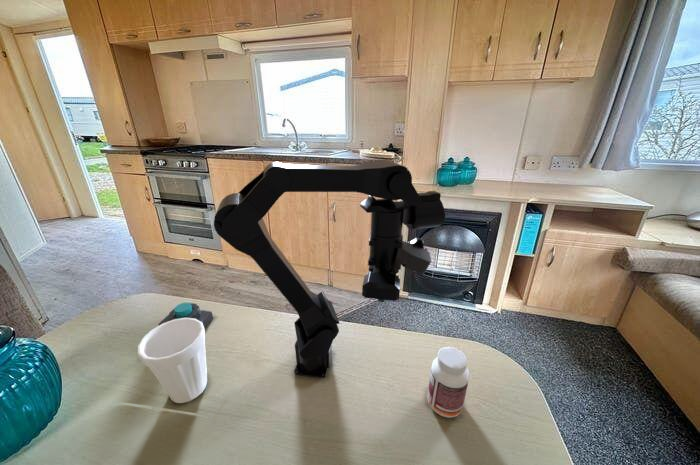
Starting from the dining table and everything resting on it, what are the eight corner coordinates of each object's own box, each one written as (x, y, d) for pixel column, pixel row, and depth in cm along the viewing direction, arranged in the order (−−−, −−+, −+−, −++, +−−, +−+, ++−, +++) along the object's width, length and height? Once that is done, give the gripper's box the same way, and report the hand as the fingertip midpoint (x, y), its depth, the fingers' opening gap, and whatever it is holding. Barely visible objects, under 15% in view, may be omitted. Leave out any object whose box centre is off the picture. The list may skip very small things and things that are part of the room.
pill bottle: (469, 407, 50) (481, 362, 45) (446, 426, 47) (456, 380, 42) (442, 381, 54) (449, 338, 50) (419, 397, 51) (425, 352, 47)
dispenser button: (172, 317, 66) (170, 311, 65) (182, 307, 69) (181, 301, 69) (186, 318, 66) (184, 312, 65) (195, 308, 69) (194, 303, 68)
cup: (229, 374, 56) (216, 324, 50) (187, 423, 47) (167, 368, 42) (190, 361, 59) (175, 312, 53) (145, 404, 50) (121, 351, 45)
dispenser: (159, 331, 66) (155, 318, 65) (178, 313, 72) (174, 301, 71) (198, 336, 65) (194, 322, 64) (214, 317, 71) (210, 305, 70)
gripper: (437, 260, 41) (424, 339, 47) (426, 217, 58) (418, 280, 64) (363, 253, 43) (360, 331, 49) (373, 213, 60) (371, 275, 66)
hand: (381, 300), depth 57 cm, fingers closed
